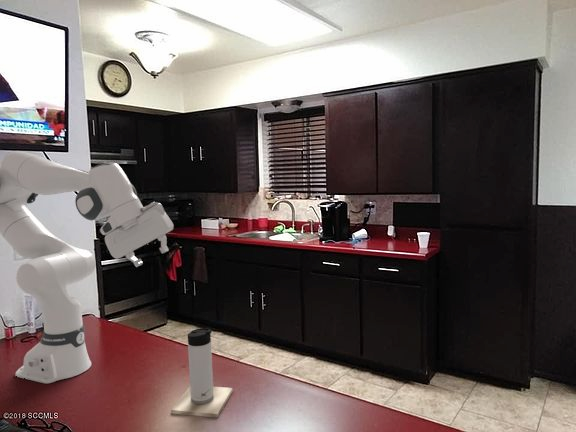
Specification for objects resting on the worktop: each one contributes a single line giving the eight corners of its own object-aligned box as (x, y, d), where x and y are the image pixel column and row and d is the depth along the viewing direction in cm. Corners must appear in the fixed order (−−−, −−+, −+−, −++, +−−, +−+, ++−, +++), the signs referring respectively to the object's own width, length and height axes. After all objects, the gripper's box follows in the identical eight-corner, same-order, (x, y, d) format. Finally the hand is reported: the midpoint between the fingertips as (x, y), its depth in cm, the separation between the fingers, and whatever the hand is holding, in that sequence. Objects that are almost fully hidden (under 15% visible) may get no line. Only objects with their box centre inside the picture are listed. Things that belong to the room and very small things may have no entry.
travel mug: (209, 406, 113) (205, 335, 111) (186, 403, 115) (183, 333, 112) (218, 394, 119) (215, 326, 117) (197, 391, 121) (193, 324, 118)
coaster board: (171, 413, 112) (171, 409, 112) (190, 388, 125) (190, 384, 125) (217, 417, 110) (217, 413, 110) (232, 391, 122) (232, 388, 122)
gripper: (163, 197, 118) (186, 241, 119) (109, 228, 123) (131, 269, 124) (152, 200, 112) (176, 246, 113) (95, 232, 117) (118, 276, 118)
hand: (152, 258), depth 118 cm, fingers open, 8 cm apart
